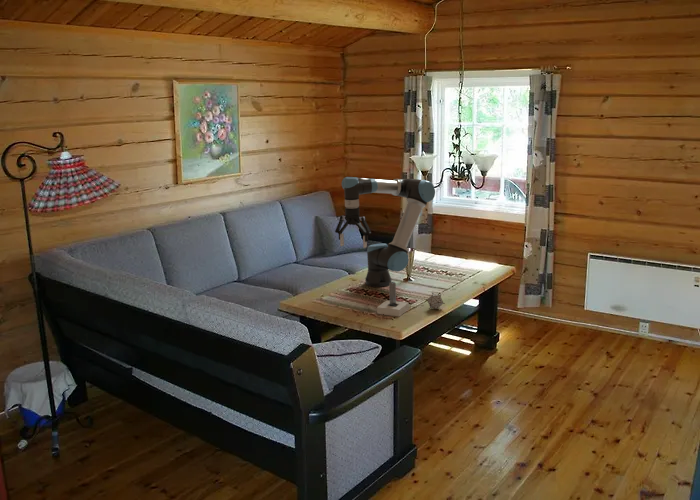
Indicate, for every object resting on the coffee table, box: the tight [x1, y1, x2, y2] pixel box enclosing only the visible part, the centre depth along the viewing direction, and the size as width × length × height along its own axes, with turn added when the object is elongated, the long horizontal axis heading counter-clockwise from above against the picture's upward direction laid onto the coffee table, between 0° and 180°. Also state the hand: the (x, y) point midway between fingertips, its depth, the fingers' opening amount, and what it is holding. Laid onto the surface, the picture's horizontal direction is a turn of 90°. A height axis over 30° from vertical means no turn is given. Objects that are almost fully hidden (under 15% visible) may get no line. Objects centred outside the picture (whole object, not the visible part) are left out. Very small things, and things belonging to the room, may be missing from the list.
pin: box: [388, 281, 397, 307], centre depth 341 cm, size 3×3×15 cm
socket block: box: [376, 299, 410, 317], centre depth 343 cm, size 12×12×4 cm
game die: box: [425, 292, 445, 311], centre depth 343 cm, size 9×8×10 cm
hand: (353, 246), depth 360 cm, fingers open, 13 cm apart
